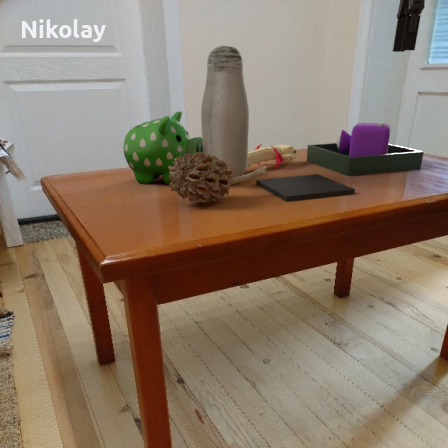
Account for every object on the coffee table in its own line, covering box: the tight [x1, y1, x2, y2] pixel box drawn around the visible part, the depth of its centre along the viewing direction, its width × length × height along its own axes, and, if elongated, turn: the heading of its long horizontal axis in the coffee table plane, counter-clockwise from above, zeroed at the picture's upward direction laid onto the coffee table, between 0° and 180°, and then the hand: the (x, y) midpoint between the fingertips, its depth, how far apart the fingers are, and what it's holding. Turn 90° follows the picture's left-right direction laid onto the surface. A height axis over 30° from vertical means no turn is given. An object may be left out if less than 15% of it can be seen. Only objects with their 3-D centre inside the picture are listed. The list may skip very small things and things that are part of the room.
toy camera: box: [336, 122, 391, 157], centre depth 117 cm, size 11×14×10 cm
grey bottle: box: [200, 45, 250, 178], centre depth 97 cm, size 10×10×28 cm
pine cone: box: [168, 152, 270, 204], centre depth 88 cm, size 22×10×10 cm, turn 120°
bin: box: [306, 142, 425, 177], centre depth 119 cm, size 22×22×4 cm
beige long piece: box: [246, 143, 297, 169], centre depth 115 cm, size 10×9×25 cm
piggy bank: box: [123, 111, 203, 185], centre depth 103 cm, size 14×18×15 cm
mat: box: [255, 173, 356, 202], centre depth 97 cm, size 16×16×1 cm
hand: (402, 51), depth 103 cm, fingers open, 13 cm apart
